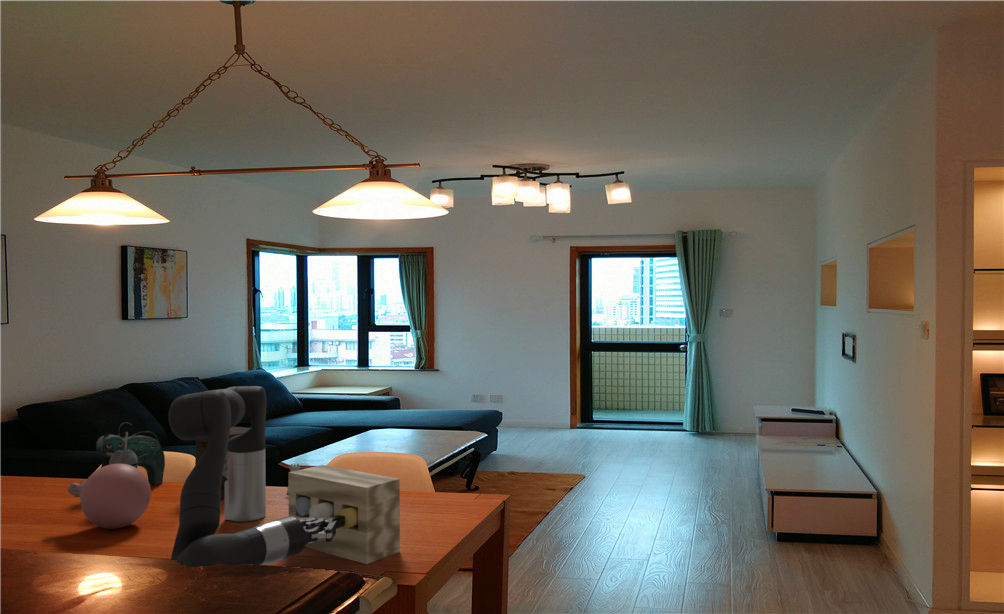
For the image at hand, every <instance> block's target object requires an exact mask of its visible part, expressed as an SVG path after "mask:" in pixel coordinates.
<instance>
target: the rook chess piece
mask: <svg viewBox="0 0 1004 614" xmlns="http://www.w3.org/2000/svg"><path fill="white" fill-rule="evenodd" d="M289 465H290V466H289V467H288V469H289V470H290V471H289V472H293V471H297V470H301V469H302V467H301V466H300V463H291V464H289ZM286 489H287V490H286V492H287V494H289V484H288V486H287V488H286Z"/></svg>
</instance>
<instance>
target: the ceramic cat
mask: <svg viewBox="0 0 1004 614" xmlns="http://www.w3.org/2000/svg"><path fill="white" fill-rule="evenodd" d="M125 424H128V425H129V426H130V427H132V423H130V422H128V421H127V422H126V421H125V422H122V423H121V424H120V425H119V426H118V434H116V435H115V434H109V433H108V432H105V433H104V435H102V436H100V437H99V438H98V439H97V440H96V446H95V451H96V453H97V455H99V457H101V458H102V459H101V464H100V465H101V466H100V468H102V467H104V466H107V465H109V461H110V458H111V456H112V455H113V453H115V452H116V451H118V450H120V449H124V448H125V437H126V436H124V435H125V432H123V433H121V431H120V428H121V427H122V426H123V425H125ZM142 433H144V434H145V433H147V434H152V435H153V436H154V437H155V438H156V439H155V438H153V437H151V436H147V435H139V434H142ZM162 447H163V446H161V444H160V441H159V438H158V435H157V434H156V433H155V432H154V431H153V432H152V431H149V430H145V431H144V430H143V431H139V432H137V433H136V432H135V434H132V435H130V436H128V438H127V449H129V450H131V451H133V452H134V453H135V454H136V456H137V459H138V467H141V468H143V469H144V470H145V471H146V475H147V476H146V477H147V480H148V482H149V484H150V486H155V487H156V486H159V485H163V479H164V472H165V469H166V468H165V466H166V459H165V453H164V450H163V448H162Z"/></svg>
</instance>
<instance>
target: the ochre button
mask: <svg viewBox="0 0 1004 614" xmlns="http://www.w3.org/2000/svg"><path fill="white" fill-rule="evenodd" d="M337 515H342V516H345V526H343V527H341V528H342V529H346V528H350V527H353V526H356V525H358V507H354V506H353V507H349V508H346V509H342V510H340V511H339V512H338V513H337Z"/></svg>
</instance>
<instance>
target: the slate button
mask: <svg viewBox="0 0 1004 614" xmlns="http://www.w3.org/2000/svg"><path fill="white" fill-rule="evenodd" d="M310 508H311V497H308V496H306V497H302V498H299V499H298V500H297V501H296V510H297V512H298V514H299V515H301V516H305V515H308V514H309V510H310Z"/></svg>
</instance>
